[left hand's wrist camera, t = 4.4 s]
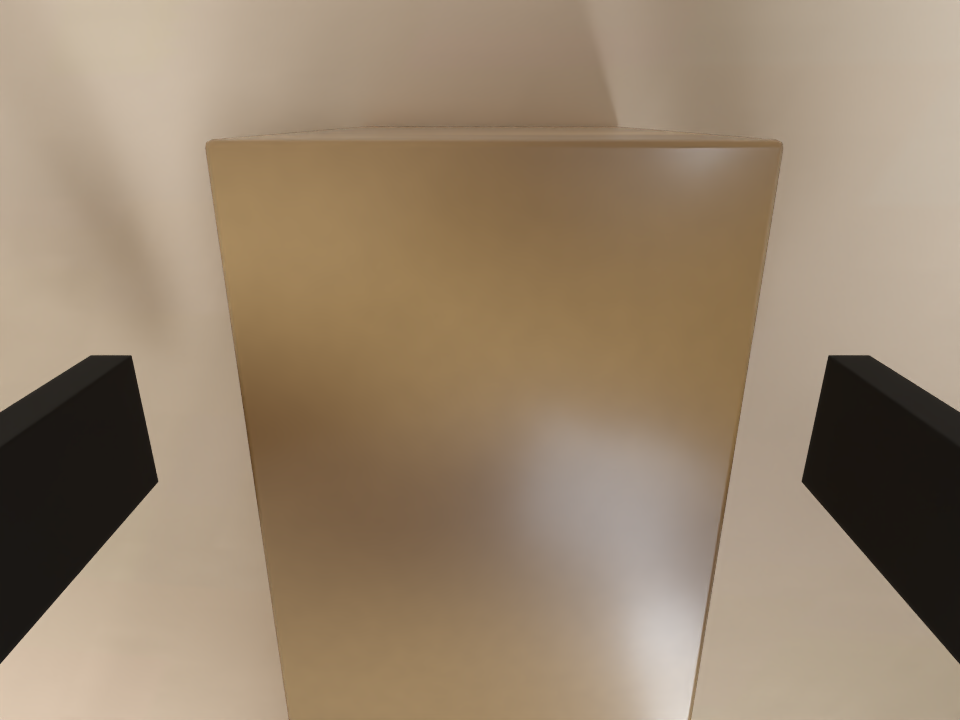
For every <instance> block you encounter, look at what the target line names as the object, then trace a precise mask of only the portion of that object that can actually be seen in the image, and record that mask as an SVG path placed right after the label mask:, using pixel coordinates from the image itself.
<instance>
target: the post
mask: <svg viewBox="0 0 960 720" xmlns="http://www.w3.org/2000/svg"><path fill="white" fill-rule="evenodd" d="M205 149H206V155H207V162H208V169H209V176H210V183H211V190H212V197H213V203H214V210H215V217H216V224H217V231H218V238H219V244H220V251H221V258H222V265H223V272H224V279H225V286H226V292H227V299H228V306H229V313H230V320H231V327H232V333H233V340H234V347H235V354H236V361H237V368H238V374H239V381H240V388H241V395H242V402H243V409H244V416H245V422H246V429H247V436H248V443H249V450H250V457H251V463H252V470H253V477H254V484H255V491H256V498H257V505H258V511H259V518H260V525H261V532H262V539H263V546H264V552H265V559H266V566H267V573H268V580H269V587H270V593H271V600H272V607H273V614H274V621H275V628H276V635H277V641H278V648H279V655H280V662H281V669H282V676H283V682H284V689H285V696H286V703H287V710H288V717H289V720H691V716H692V710H693V704H694V698H695V692H696V685H697V679H698V673H699V667H700V661H701V654H702V648H703V642H704V636H705V630H706V623H707V617H708V611H709V605H710V599H711V592H712V586H713V580H714V574H715V568H716V561H717V555H718V549H719V543H720V537H721V530H722V524H723V518H724V512H725V506H726V499H727V493H728V487H729V481H730V475H731V468H732V462H733V456H734V450H735V444H736V437H737V431H738V425H739V419H740V413H741V406H742V400H743V394H744V388H745V382H746V375H747V369H748V363H749V357H750V351H751V344H752V338H753V332H754V326H755V320H756V314H757V307H758V301H759V295H760V289H761V283H762V276H763V270H764V264H765V258H766V252H767V245H768V239H769V233H770V227H771V221H772V214H773V208H774V202H775V196H776V190H777V183H778V177H779V171H780V165H781V159H782V152H783V144H782V142H780V141H778V140H773V139H761V138H748V137H736V136H724V135H711V134H699V133H687V132H674V131H662V130H650V129H637V128H625V127H354V128H342V129H331V130H319V131H307V132H295V133H284V134H272V135H260V136H248V137H237V138H225V139H213V140H210V141H208V142H207V143H206V148H205Z"/></svg>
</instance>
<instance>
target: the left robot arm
mask: <svg viewBox="0 0 960 720" xmlns="http://www.w3.org/2000/svg"><path fill="white" fill-rule="evenodd" d="M157 483H158V478H157V473H156V468H155V464H154V459H153V454H152V450H151V445H150V440H149V436H148V431H147V426H146V421H145V417H144V412H143V407H142V403H141V398H140V393H139V389H138V384H137V379H136V375H135V370H134V365H133V360H132V356H131V355H91V356H89V357H87V358H86V359H84V360H83V361H81V362H80V363H78V364H76V365H75V366H73V367H72V368H70V369H68V370H67V371H65V372H64V373H62V374H60V375H59V376H57V377H56V378H54V379H52V380H51V381H49V382H48V383H46V384H45V385H43V386H41V387H40V388H38V389H37V390H35V391H33V392H32V393H30V394H29V395H27V396H25V397H24V398H22V399H21V400H19V401H17V402H16V403H14V404H13V405H11V406H10V407H8V408H6V409H5V410H3V411H2V412H0V664H1V662H2V661H3V660H4V659H5V658H6V657H7V656H8V654H9V653H10V652H11V651H12V650H13V649H14V647H15V646H16V645H17V644H18V643H19V642H20V641H21V639H22V638H23V637H24V636H25V635H26V634H27V632H28V631H29V630H30V629H31V628H32V627H33V626H34V624H35V623H36V622H37V621H38V620H39V619H40V618H41V616H42V615H43V614H44V613H45V612H46V611H47V609H48V608H49V607H50V606H51V605H52V604H53V603H54V601H55V600H56V599H57V598H58V597H59V596H60V594H61V593H62V592H63V591H64V590H65V589H66V588H67V586H68V585H69V584H70V583H71V582H72V581H73V579H74V578H75V577H76V576H77V575H78V574H79V573H80V571H81V570H82V569H83V568H84V567H85V566H86V564H87V563H88V562H89V561H90V560H91V559H92V558H93V556H94V555H95V554H96V553H97V552H98V551H99V549H100V548H101V547H102V546H103V545H104V544H105V543H106V541H107V540H108V539H109V538H110V537H111V536H112V535H113V533H114V532H115V531H116V530H117V529H118V528H119V526H120V525H121V524H122V523H123V522H124V521H125V520H126V518H127V517H128V516H129V515H130V514H131V513H132V511H133V510H134V509H135V508H136V507H137V506H138V505H139V503H140V502H141V501H142V500H143V499H144V498H145V496H146V495H147V494H148V493H149V492H150V491H151V490H152V488H153V487H154V486H155V485H156V484H157ZM802 483H803V484H804V485H805V486H806V487H807V488H808V490H809V491H810V492H811V493H812V494H813V495H814V496H815V498H816V499H817V500H818V501H819V502H820V503H821V505H822V506H823V507H824V508H825V509H826V510H827V511H828V513H829V514H830V515H831V516H832V517H833V518H834V520H835V521H836V522H837V523H838V524H839V525H840V526H841V528H842V529H843V530H844V531H845V532H846V533H847V535H848V536H849V537H850V538H851V539H852V540H853V541H854V543H855V544H856V545H857V546H858V547H859V548H860V549H861V551H862V552H863V553H864V554H865V555H866V556H867V558H868V559H869V560H870V561H871V562H872V563H873V564H874V566H875V567H876V568H877V569H878V570H879V571H880V573H881V574H882V575H883V576H884V577H885V578H886V579H887V581H888V582H889V583H890V584H891V585H892V586H893V588H894V589H895V590H896V591H897V592H898V593H899V594H900V596H901V597H902V598H903V599H904V600H905V601H906V603H907V604H908V605H909V606H910V607H911V608H912V609H913V611H914V612H915V613H916V614H917V615H918V616H919V618H920V619H921V620H922V621H923V622H924V623H925V624H926V626H927V627H928V628H929V629H930V630H931V631H932V632H933V634H934V635H935V636H936V637H937V638H938V639H939V641H940V642H941V643H942V644H943V645H944V646H945V647H946V649H947V650H948V651H949V652H950V653H951V654H952V656H953V657H954V658H955V659H956V660H957V661H958V662H959V664H960V412H958V411H957V410H955V409H954V408H952V407H950V406H949V405H947V404H946V403H944V402H943V401H941V400H939V399H938V398H936V397H935V396H933V395H931V394H930V393H928V392H927V391H925V390H923V389H922V388H920V387H919V386H917V385H915V384H914V383H912V382H911V381H909V380H908V379H906V378H904V377H903V376H901V375H900V374H898V373H896V372H895V371H893V370H892V369H890V368H888V367H887V366H885V365H884V364H882V363H880V362H879V361H877V360H876V359H874V358H873V357H871V356H869V355H829V356H828V360H827V365H826V370H825V375H824V379H823V384H822V389H821V393H820V398H819V403H818V407H817V412H816V417H815V421H814V426H813V431H812V436H811V440H810V445H809V450H808V454H807V459H806V464H805V468H804V473H803V478H802Z"/></svg>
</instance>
